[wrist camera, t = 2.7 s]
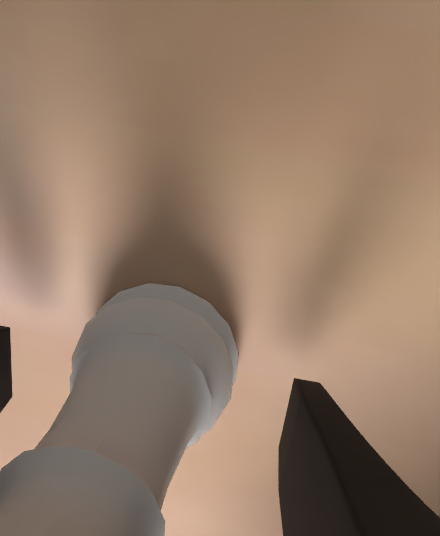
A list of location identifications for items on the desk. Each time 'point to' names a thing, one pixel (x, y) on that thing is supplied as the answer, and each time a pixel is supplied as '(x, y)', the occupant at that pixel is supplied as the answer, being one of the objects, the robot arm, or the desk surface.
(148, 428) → the rook chess piece
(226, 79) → the desk surface
